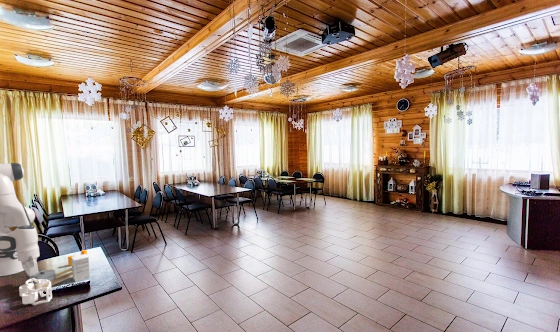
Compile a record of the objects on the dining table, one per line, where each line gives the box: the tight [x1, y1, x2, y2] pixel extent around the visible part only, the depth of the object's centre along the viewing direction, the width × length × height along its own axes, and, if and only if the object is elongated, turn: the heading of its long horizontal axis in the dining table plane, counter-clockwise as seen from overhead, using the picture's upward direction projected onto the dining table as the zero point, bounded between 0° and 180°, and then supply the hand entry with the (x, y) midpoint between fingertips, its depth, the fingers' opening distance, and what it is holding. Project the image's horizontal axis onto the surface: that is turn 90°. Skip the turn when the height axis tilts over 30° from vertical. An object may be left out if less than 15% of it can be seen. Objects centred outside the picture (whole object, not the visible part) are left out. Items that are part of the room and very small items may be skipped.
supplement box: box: [71, 254, 91, 282], centre depth 160 cm, size 7×7×13 cm
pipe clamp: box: [67, 249, 88, 267], centre depth 183 cm, size 12×4×6 cm, turn 172°
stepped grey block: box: [26, 270, 40, 284], centre depth 153 cm, size 4×4×8 cm
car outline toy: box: [18, 278, 53, 306], centre depth 139 cm, size 20×11×7 cm, turn 48°
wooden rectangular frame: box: [32, 267, 73, 290], centre depth 158 cm, size 7×24×8 cm, turn 162°
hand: (31, 279), depth 152 cm, fingers open, 6 cm apart
